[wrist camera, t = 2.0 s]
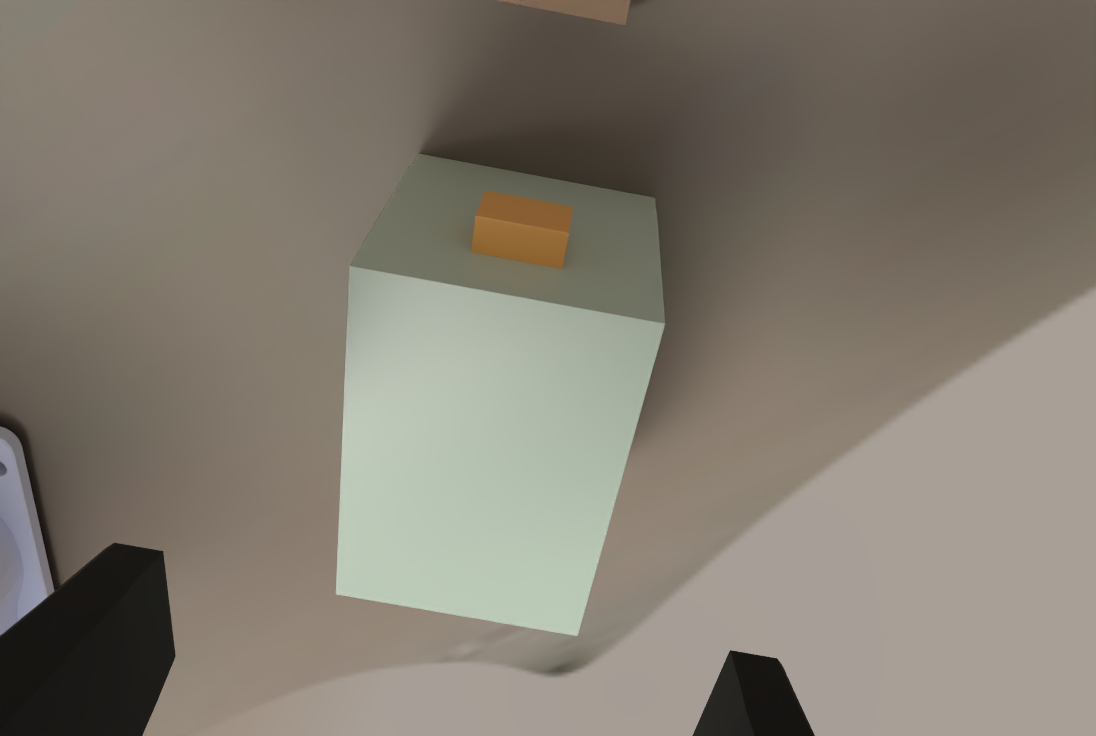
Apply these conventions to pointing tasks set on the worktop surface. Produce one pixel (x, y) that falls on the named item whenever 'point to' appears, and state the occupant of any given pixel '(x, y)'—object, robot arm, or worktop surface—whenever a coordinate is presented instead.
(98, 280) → the worktop surface
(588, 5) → the rail base
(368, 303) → the block
